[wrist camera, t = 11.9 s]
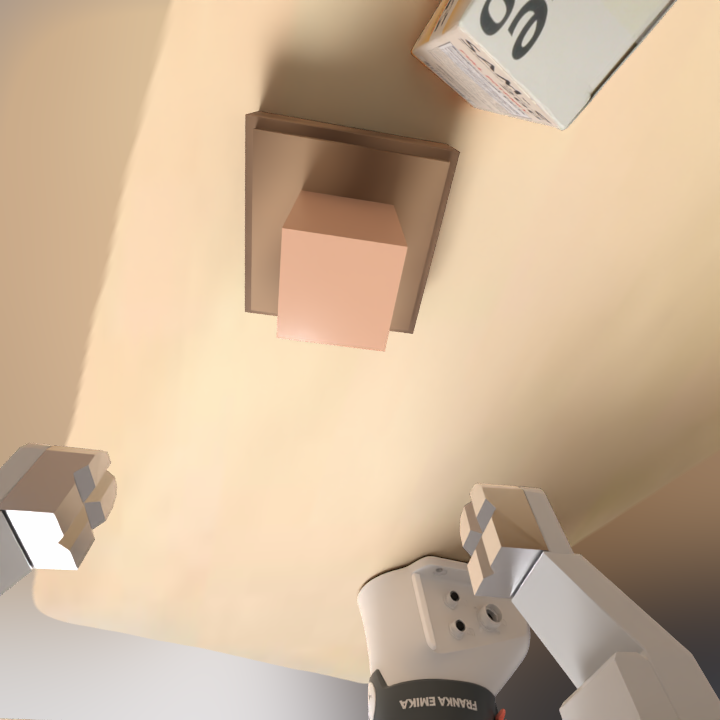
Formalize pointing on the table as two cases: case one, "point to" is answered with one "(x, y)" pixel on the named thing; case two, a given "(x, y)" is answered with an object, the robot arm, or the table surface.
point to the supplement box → (534, 51)
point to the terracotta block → (339, 271)
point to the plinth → (345, 179)
